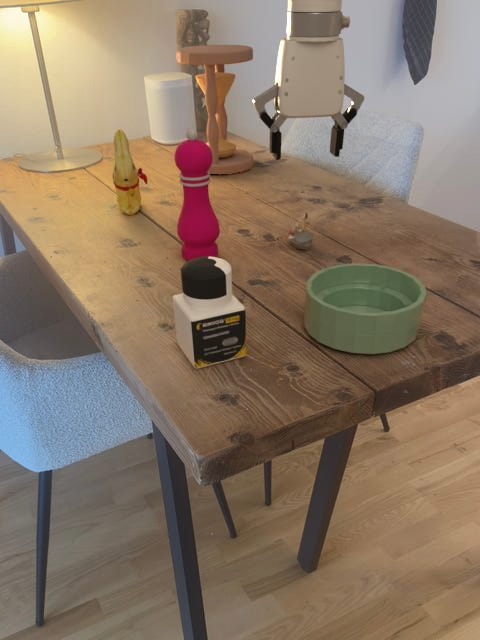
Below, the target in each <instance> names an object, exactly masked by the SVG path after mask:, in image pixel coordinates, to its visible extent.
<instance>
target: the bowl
mask: <svg viewBox="0 0 480 640" xmlns="http://www.w3.org/2000/svg"><path fill="white" fill-rule="evenodd" d="M427 295H428V294H427V289H426V285H425V284H424V283H423V282H422V281H421V280H420V279H419V278H418V277H416V276H414V275H413V274H411V273H409V272H407V271H406V270H405V271H404V270H401V269H399V268H395V267H392V266H389V265H388V266H387V265H382V264H375V263H358V262H357V263H356V262H355V263H344V264H343V263H342V264H337V265H332V266H328V267H324V268H322V269H320V270H318V271H316V272H314V273H313V274H312V275H311V276H310V277H309V278H308V280H306V286H305V300H304V301H305V302H304V317H303V318H304V319H303V326H304V328H305V330H306V332H307V334H308V335H309V336H310V337H311V338H313V339H314V340H315V341H316V342H317V343H319V344H322V345H325V346H326V347H329V348H332V349H334V350H337V351H342V352H346V353H351V354H363V355H377V354H378V355H379V354H386V353H392V352H394V351H397V350H401V349H404V348H406V347H407V346H409V345H410V344H412V343H413V342H414V341H416V339H417V337H418V335H419V333H420V329H421V324H422V320H423V314H424V311H425V306H426V301H427Z"/></svg>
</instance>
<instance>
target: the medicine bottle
mask: <svg viewBox="0 0 480 640" xmlns="http://www.w3.org/2000/svg"><path fill="white" fill-rule="evenodd" d="M232 273H233V270H232V266H231V264H230V262H228V261H227V260H226V259H223V258H220V257H218V256H217V257H210V256H205V257H198V258H194V259H192V260H189V261H188V260H186V262H184V263H183V265H182V266H181V267H180V278H181V290H182V293H177V294H173V296H172V297H171V299H172V307H173V318H174V327H175V328H174V329H175V336H176V344H177V345H178V347H179V349H180V350H181V352H182V353H183V354H184V356H185V357H186V358H187V360H188V361H189V362H190V364H191V365H192V367H193V368H194V369H195V370H198V369H202V368H207V367H211V366H214V365H218V364H223V363H225V362H229V361H230V362H231V361H234V360H239V359H241V358H245V357H246V356H247V319H246V318H247V317H246V316H247V315H246V306H245V305H244V304H243V303H242V302H241V301H239V299H237V297H236V296H235V295H234V294H233V274H232Z"/></svg>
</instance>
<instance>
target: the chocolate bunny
mask: <svg viewBox="0 0 480 640" xmlns="http://www.w3.org/2000/svg"><path fill="white" fill-rule="evenodd" d="M113 145H114V146H113V147H114V161H113V170H112V182H113V185H114V189H115V194H116V202H117V204H118V206H119V209H120V210H121V212H122V213H124V214H126V215H127V216H134V215H135V214H136V213H138V212H139V210H140V208H141V205H142V195H141V188H140V179H141V180H143V182H144V183H145V185H148V177H147V175H146V174H145V173H144V172H143V168H142V167H139V168H138V169H137V167H136V164H135V162H134V159H133V157H132V154H131V151H130V145H129V139H128V137H127V135H126V132H124V131H123V130H122V129H117V130H116V131H115V133H114V137H113Z"/></svg>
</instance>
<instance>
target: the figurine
mask: <svg viewBox="0 0 480 640" xmlns="http://www.w3.org/2000/svg"><path fill="white" fill-rule="evenodd" d="M308 215H309V214H308V212H305V213H304V214H303V217H302V218H300V219H299V222H296V225H290V227H291V228H292V229H289V230H288V238H287V240H288V244H289V245H290V246H292V247H294V248H295V249H299V250H306V251H307V250H308V251H309V249H310V246H311V244H312V242H313V239H314V235H315V234H314V233H313V232H311V231H309V230H306V229H307V220H308V217H309V216H308Z"/></svg>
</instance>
